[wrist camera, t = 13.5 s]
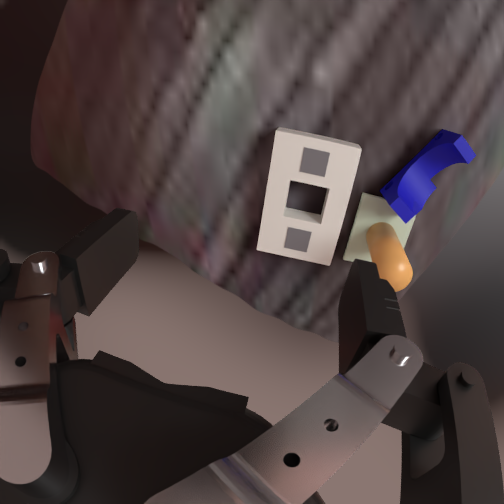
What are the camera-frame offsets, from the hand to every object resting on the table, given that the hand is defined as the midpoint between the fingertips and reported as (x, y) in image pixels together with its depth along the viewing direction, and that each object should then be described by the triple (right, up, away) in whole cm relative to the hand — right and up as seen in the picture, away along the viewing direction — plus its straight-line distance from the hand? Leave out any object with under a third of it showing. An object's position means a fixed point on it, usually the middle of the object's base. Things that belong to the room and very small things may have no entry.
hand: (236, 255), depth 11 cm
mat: (+18, +3, +30) cm, 35 cm away
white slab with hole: (+8, +8, +29) cm, 31 cm away
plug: (+18, +2, +29) cm, 34 cm away
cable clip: (+22, +10, +24) cm, 35 cm away
